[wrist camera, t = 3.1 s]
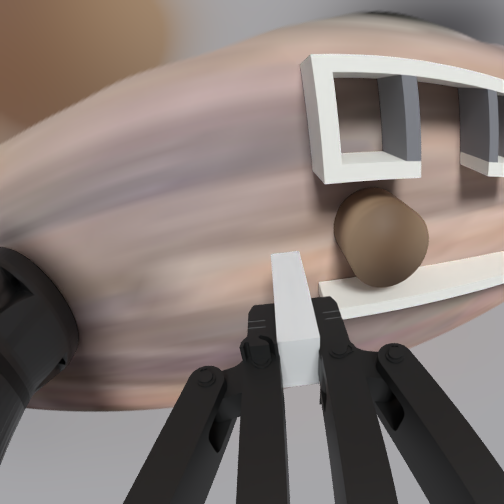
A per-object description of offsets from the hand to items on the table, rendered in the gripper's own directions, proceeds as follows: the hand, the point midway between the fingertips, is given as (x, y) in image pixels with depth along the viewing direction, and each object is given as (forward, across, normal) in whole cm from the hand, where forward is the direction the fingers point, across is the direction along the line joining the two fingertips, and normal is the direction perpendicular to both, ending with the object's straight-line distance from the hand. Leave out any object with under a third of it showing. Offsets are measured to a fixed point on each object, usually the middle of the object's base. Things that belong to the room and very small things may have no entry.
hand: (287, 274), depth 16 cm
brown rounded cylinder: (+5, +6, 0) cm, 8 cm away
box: (+5, +17, +3) cm, 18 cm away
